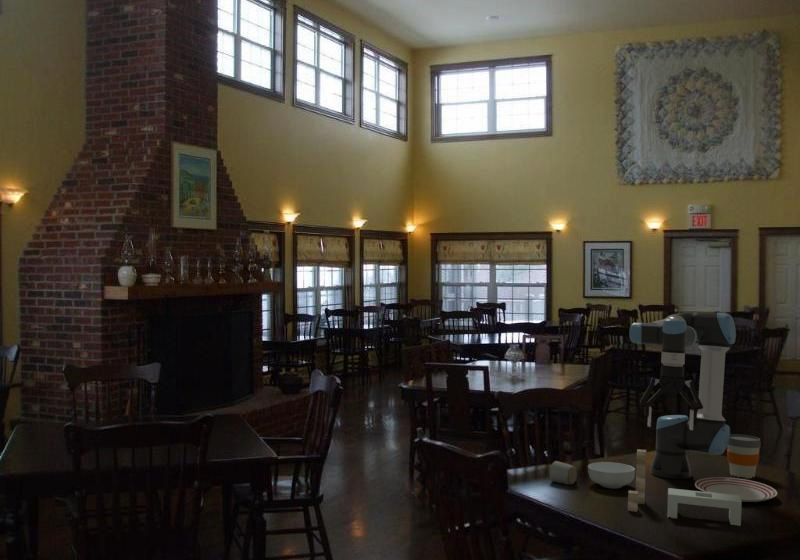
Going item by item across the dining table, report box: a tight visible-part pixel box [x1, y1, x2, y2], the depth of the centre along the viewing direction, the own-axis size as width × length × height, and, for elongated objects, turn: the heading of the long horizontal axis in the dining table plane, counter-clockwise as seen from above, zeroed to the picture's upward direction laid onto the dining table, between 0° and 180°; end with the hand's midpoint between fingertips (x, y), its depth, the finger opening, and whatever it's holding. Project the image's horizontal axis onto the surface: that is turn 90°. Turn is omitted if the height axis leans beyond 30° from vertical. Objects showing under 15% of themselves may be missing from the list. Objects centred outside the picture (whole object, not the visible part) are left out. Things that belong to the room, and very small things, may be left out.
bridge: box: [666, 487, 743, 527], centre depth 263 cm, size 8×22×8 cm, turn 72°
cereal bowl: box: [587, 461, 636, 489], centre depth 300 cm, size 17×17×7 cm
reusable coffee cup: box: [726, 434, 762, 479], centre depth 321 cm, size 12×13×15 cm
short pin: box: [627, 490, 639, 513], centre depth 270 cm, size 3×3×6 cm
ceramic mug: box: [549, 460, 578, 486], centre depth 303 cm, size 11×8×8 cm
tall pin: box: [635, 448, 647, 505], centre depth 279 cm, size 3×3×18 cm
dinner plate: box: [694, 476, 778, 503], centre depth 292 cm, size 28×27×3 cm
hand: (670, 428), depth 274 cm, fingers open, 13 cm apart
